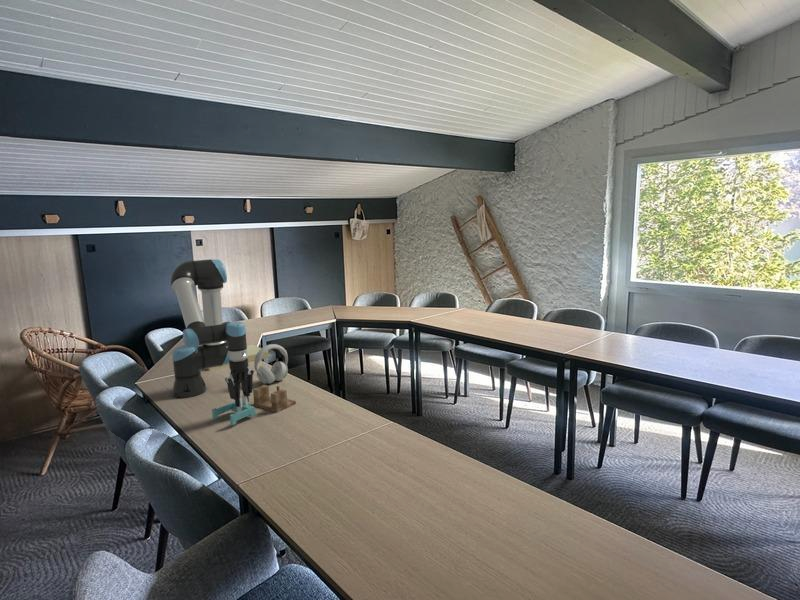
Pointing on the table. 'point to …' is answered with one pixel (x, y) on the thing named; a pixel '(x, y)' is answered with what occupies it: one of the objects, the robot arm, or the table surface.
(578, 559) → the table surface
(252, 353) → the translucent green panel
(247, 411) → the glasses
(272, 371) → the headphones
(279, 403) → the stand
